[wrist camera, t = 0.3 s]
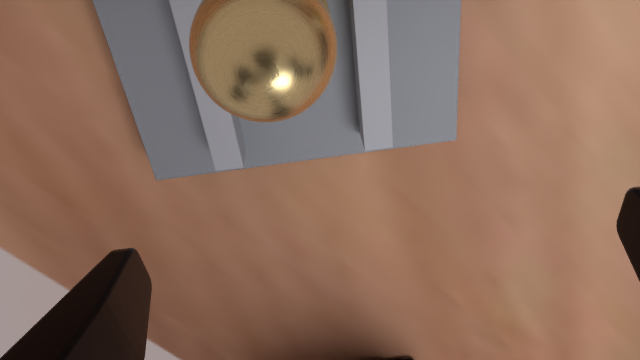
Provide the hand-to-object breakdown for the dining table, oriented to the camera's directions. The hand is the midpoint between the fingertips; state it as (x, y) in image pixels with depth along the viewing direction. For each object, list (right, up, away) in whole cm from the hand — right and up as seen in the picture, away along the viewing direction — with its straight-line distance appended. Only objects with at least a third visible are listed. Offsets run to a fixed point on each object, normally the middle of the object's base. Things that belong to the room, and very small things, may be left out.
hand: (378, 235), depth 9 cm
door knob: (-3, +9, +9) cm, 13 cm away
